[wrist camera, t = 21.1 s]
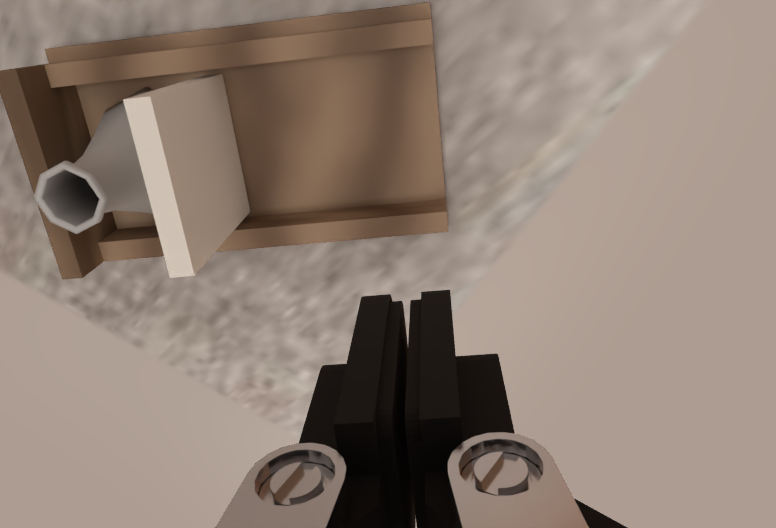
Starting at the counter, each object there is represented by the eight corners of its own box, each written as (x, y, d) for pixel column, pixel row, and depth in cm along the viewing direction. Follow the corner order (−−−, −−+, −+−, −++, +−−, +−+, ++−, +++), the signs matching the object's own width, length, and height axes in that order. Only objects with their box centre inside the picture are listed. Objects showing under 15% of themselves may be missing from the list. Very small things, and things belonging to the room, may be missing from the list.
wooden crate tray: (115, 254, 41) (66, 292, 36) (54, 47, 36) (-13, 55, 31) (447, 225, 39) (451, 260, 34) (429, 2, 34) (430, 1, 29)
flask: (168, 232, 39) (89, 301, 30) (74, 151, 38) (-40, 197, 28) (240, 153, 37) (179, 200, 28) (144, 63, 36) (45, 82, 26)
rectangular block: (231, 213, 38) (169, 277, 29) (202, 75, 35) (122, 99, 26) (250, 211, 38) (194, 275, 29) (222, 73, 35) (150, 96, 26)
